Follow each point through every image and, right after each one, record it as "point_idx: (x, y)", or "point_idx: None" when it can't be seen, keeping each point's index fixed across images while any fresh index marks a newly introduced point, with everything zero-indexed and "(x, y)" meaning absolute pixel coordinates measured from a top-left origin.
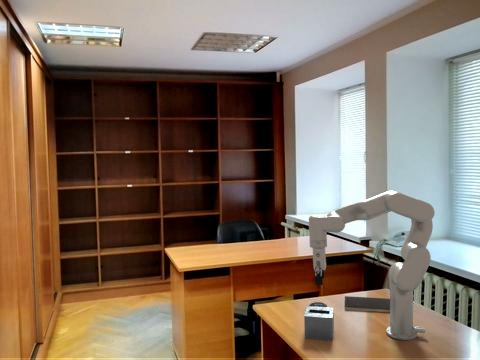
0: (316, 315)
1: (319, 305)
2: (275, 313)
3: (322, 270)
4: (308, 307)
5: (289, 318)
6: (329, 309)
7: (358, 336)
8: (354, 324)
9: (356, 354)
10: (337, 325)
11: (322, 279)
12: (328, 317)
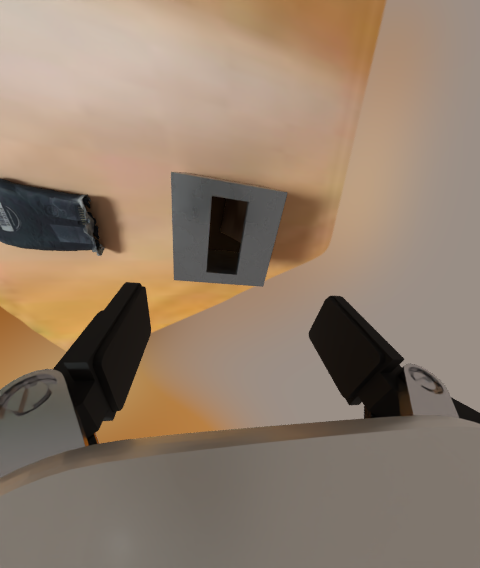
0: (260, 251)
1: (11, 212)
2: None
3: (109, 365)
4: (188, 275)
5: None
6: (197, 195)
7: (235, 77)
8: (121, 66)
9: (352, 121)
10: (152, 154)
11: (373, 329)
12: (281, 208)
